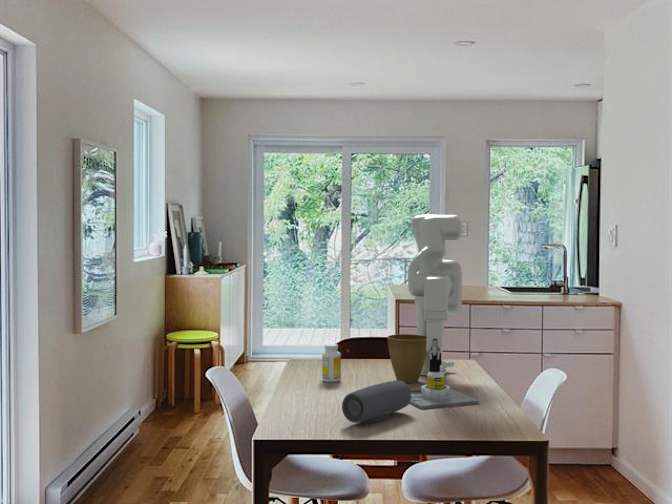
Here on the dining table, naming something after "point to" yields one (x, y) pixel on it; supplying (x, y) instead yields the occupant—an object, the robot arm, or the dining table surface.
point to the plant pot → (407, 356)
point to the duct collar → (439, 398)
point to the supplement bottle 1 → (331, 363)
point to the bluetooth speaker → (376, 402)
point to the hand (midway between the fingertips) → (435, 368)
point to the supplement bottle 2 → (435, 380)
